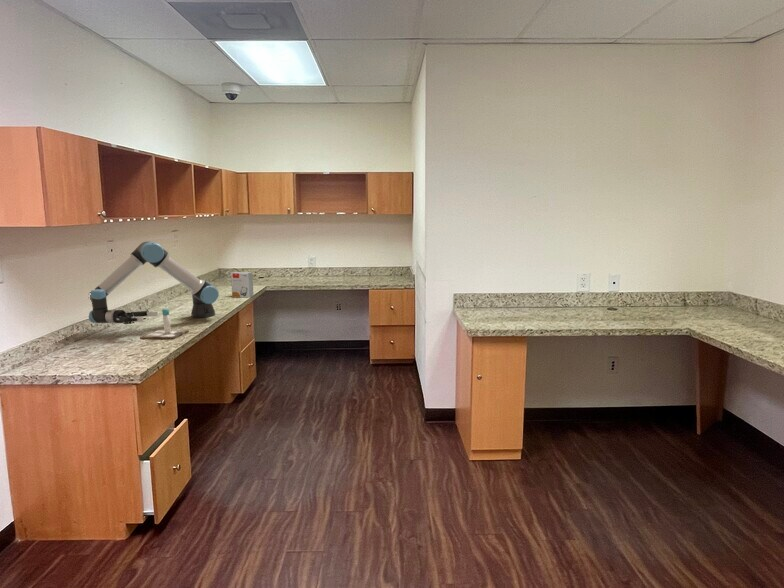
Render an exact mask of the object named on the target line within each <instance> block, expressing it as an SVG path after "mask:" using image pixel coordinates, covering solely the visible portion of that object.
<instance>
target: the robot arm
mask: <svg viewBox="0 0 784 588" xmlns="http://www.w3.org/2000/svg"><path fill="white" fill-rule="evenodd" d="M129 254H130V256H129V257H128V258H127V259H126V260H124V262H123V263H122V264H121V265H120V266H118V267H117V268H116V269H115V270H114V271H112V273H110V275H108V276H107V277H106V278H104V280H103V281H102V282H101V283H100V284H98V286H96V287H95V288H94V289H95V290H94V289H92V290H90V291H91V292H90V291H89V293H91V295H90V300H91V301H90V300H89V301H90V302H91V307H92V310H90V311H89V313H88V314H89V315H88V320H89V321H90V322H91V323H93V324H95V323H96V324H112V325H114V324H124V323H126V324H128V323H129V324H132V323H137V322H138V323H144V317H159V313H158V312H159V311H149V310H147V309H146V310H142V311H131V312H126V311H125V310H123V309H109V308H108V299H107V296H109V295H110V294H111V293H112V292H113V291H114V290H115V289H116V288H117V287H118V286H119V285H121V284H122V283H123V282H124V281H125V280H126V279H127V278H128V277H129V276H130V275H131V274H133V273H134V272H135V271H136V270H137V269H138V268H139V267H140V266H144V265H145V264H146V263H149V264H150V265H152V266H153V267H154V268H160V270H162V271H164V272H166V273H167V274H168V275H170V277H172V278H174V280H176V281H178V282H179V283H180V284H181V285H183V286H185V287H186V288H187V289H188V290H190V291H191V292H190V293H191V297H192V308H191V313H190V315H191V317H192V318H196V319H200V318H201V319H202V318H209V317H213V316H215V315H216V310H215V308H214V306H213V304H214V303H216V301H217V300H218V298H219V291H218V289H217V288H216V287H215V286H213V285H211V283H210V281H209V280H207V281H206V280H205V279H199V278H198V277H197V276H195V275H194V274H193V273H191V271H189V270H188V269H186V268H185V267H183V266H182V264H180V263H179V262H177V261H176V260H174V259H173V258H172V257H170V253H169V252H168V250H165V249H164V248H163V246H162V245H161V244H159V243H157V242H155V241H143V242H141V243H140V244H139V245H138V246H137V247H136V248H135V249H134V250H133V251H132V252H131V253H129Z"/></svg>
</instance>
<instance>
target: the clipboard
mask: <svg viewBox="0 0 784 588" xmlns="http://www.w3.org/2000/svg"><path fill="white" fill-rule="evenodd" d="M188 333H190V330H188V329H187V330H184V329H183V330H182V329H181V330H178V329H171V334H165V330H164V329H155V330H154V331H152V332H149V333H147V334H145V335H141V336H140V337H139V339H140V340H176V339H177V338H179V337H182V336H184V335H186V334H188Z"/></svg>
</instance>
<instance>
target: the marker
mask: <svg viewBox="0 0 784 588" xmlns="http://www.w3.org/2000/svg"><path fill="white" fill-rule="evenodd" d="M161 311H162V317H163V318H162V319H163V327H164V328H163V330H165V334H171V330H172V329H171V320H170V309H169V308H163V309H162V310H161Z"/></svg>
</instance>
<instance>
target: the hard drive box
mask: <svg viewBox="0 0 784 588" xmlns="http://www.w3.org/2000/svg"><path fill="white" fill-rule="evenodd" d="M230 284H231V294H232V295H231V297H232V298H248V299H250V298H252V297H255V295H254V280H253V272H251V271H233V272H230Z"/></svg>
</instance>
